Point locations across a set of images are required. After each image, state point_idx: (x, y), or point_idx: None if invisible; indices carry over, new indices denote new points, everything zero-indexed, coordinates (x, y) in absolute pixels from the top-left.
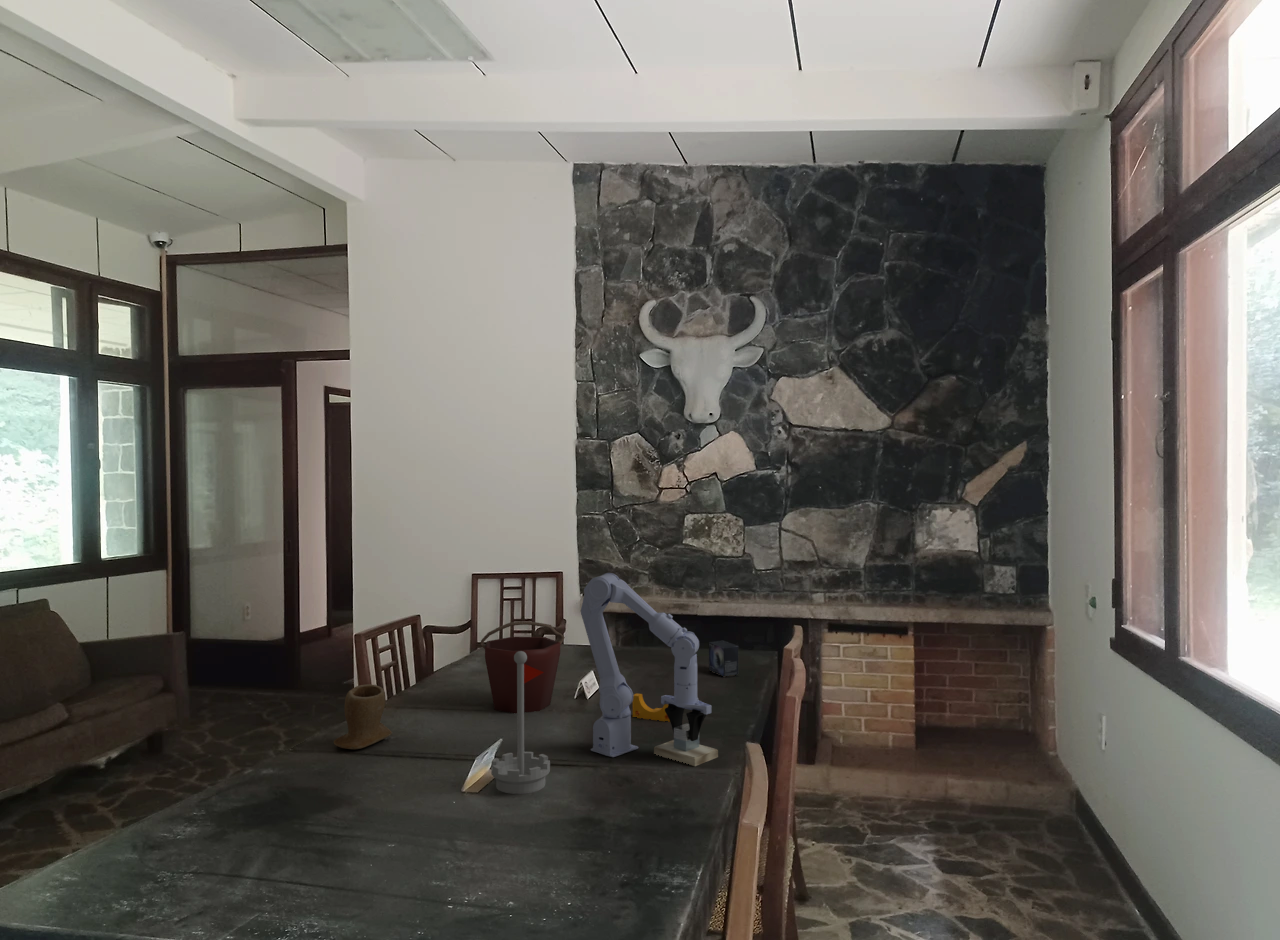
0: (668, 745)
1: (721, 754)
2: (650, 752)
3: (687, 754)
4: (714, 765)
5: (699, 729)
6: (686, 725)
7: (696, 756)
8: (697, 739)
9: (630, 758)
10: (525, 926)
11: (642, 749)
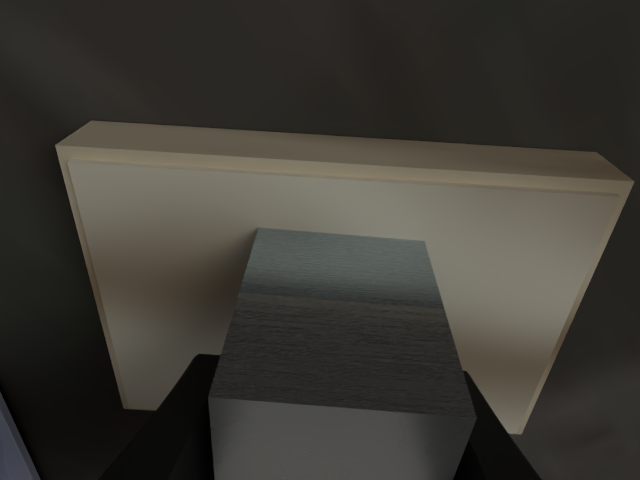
0: (181, 354)
1: (603, 57)
2: (93, 351)
3: None
4: (628, 314)
5: (528, 473)
6: (277, 461)
7: (520, 417)
8: (470, 377)
9: (110, 461)
10: None
11: (4, 337)
